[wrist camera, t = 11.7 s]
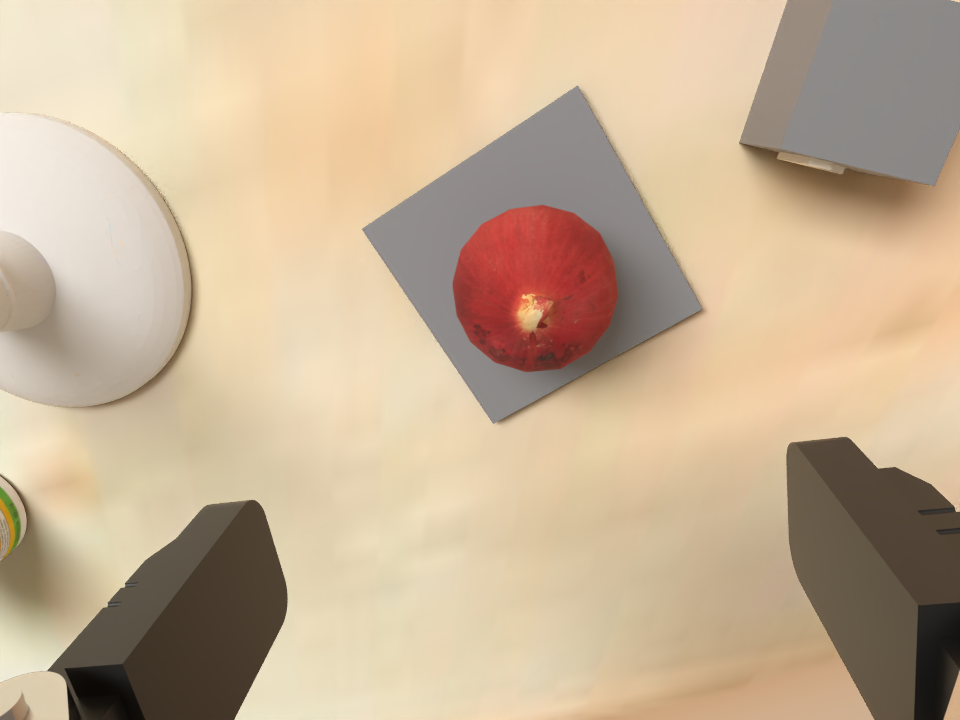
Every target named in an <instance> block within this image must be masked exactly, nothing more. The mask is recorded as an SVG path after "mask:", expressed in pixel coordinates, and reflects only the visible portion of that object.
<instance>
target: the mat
mask: <svg viewBox="0 0 960 720" xmlns="http://www.w3.org/2000/svg"><path fill="white" fill-rule="evenodd" d="M537 205H546V206H550V207H553V208H557V209H561V210H565V211H568V212H572V213H575V214H576V215H577V216H579V217H580V218H581V219H583V220H584V221H585V222H586V223H588V224H589V225H590V226H592V227H593V228H594V229H595V230H597V231H598V232H599V233H600V234H601V236H602V238H603V240H604V242H605V244H606V246H607V248H608V250H609V252H610V254H611V256H612V258H613V260H614V265H615V273H616V281H617V289H618V299H617V302H616V306H615V309H614V313H613V316H612V319H611V323H610V326H609V327H608V328H607V330H606V331H605V332H604V334H603V335H602V336H601V338H600V339H599V340H598V342H597V343H596V344H595V346H594V347H593V349H592V350H591V351H590V352H589V353H587V354H585V355H583V356H582V357H580V358H578V359H577V360H575V361H573V362H571V363H570V364H568V365H566V366H565V367H563V368H561V369H557V370H545V371H534V372H524V371H521V370H518V369H514V368H511V367H508V366H504V365H501V364H498V363H495V362H493V361H492V360H491V359H490V358H488V357H487V356H486V355H485V354H484V353H483V352H481V351H480V350H479V349H478V348H477V347H476V346H474V345H473V344H472V343H471V342H470V341H469V339H468V337H467V335H466V333H465V331H464V329H463V327H462V325H461V323H460V321H459V319H458V317H457V315H456V308H455V301H454V294H453V287H452V285H453V279H454V275H455V271H456V267H457V263H458V259H459V255H460V251H461V249H462V248H463V246H464V245H465V244H466V243H467V241H468V240H469V239H470V238H471V236H472V235H473V234H474V233H475V232H476V230H477V229H478V228H479V227H480V225H481V224H483V223H485V222H487V221H489V220H490V219H492V218H494V217H496V216H498V215H500V214H502V213H504V212H506V211H507V210H509V209H514V208H522V207H530V206H537ZM362 230H363V232H364V233H365V234H366V236H367V237H368V239H369V240H370V242H371V243H372V245H373V246H374V248H375V249H376V251H377V252H378V254H379V255H380V257H381V258H382V260H383V261H384V263H385V264H386V266H387V267H388V269H389V270H390V272H391V273H392V274H393V276H394V277H395V279H396V280H397V282H398V283H399V285H400V286H401V288H402V289H403V291H404V292H405V294H406V295H407V297H408V298H409V300H410V301H411V303H412V304H413V306H414V307H415V309H416V310H417V312H418V313H419V314H420V316H421V317H422V319H423V320H424V322H425V323H426V325H427V326H428V328H429V329H430V331H431V332H432V334H433V335H434V337H435V338H436V340H437V341H438V343H439V344H440V346H441V347H442V349H443V350H444V352H445V353H446V354H447V356H448V357H449V359H450V360H451V362H452V363H453V365H454V366H455V368H456V369H457V371H458V372H459V374H460V375H461V377H462V378H463V380H464V381H465V383H466V384H467V386H468V387H469V389H470V390H471V392H472V393H473V394H474V396H475V397H476V399H477V400H478V402H479V403H480V405H481V406H482V408H483V409H484V411H485V412H486V414H487V415H488V417H489V418H490V420H491V421H492V423H493V424H494V423H496V422H498V421H499V420H501V419H503V418H505V417H507V416H508V415H510V414H512V413H514V412H516V411H518V410H519V409H521V408H523V407H525V406H527V405H529V404H530V403H532V402H534V401H536V400H538V399H539V398H541V397H543V396H545V395H547V394H549V393H550V392H552V391H554V390H556V389H558V388H559V387H561V386H563V385H565V384H567V383H569V382H570V381H572V380H574V379H576V378H578V377H580V376H581V375H583V374H585V373H587V372H589V371H590V370H592V369H594V368H596V367H598V366H600V365H601V364H603V363H605V362H607V361H609V360H610V359H612V358H614V357H616V356H618V355H620V354H621V353H623V352H625V351H627V350H629V349H631V348H632V347H634V346H636V345H638V344H640V343H641V342H643V341H645V340H647V339H649V338H651V337H652V336H654V335H656V334H658V333H660V332H661V331H663V330H665V329H667V328H669V327H671V326H672V325H674V324H676V323H678V322H680V321H681V320H683V319H685V318H687V317H689V316H691V315H692V314H694V313H696V312H698V311H700V310H702V308H701V306H700V304H699V302H698V300H697V299H696V297H695V295H694V293H693V291H692V290H691V288H690V286H689V284H688V282H687V281H686V279H685V277H684V275H683V274H682V272H681V270H680V268H679V266H678V265H677V263H676V261H675V259H674V257H673V256H672V254H671V252H670V250H669V248H668V247H667V245H666V243H665V241H664V240H663V238H662V236H661V234H660V232H659V231H658V229H657V227H656V225H655V223H654V222H653V220H652V218H651V216H650V214H649V213H648V211H647V209H646V207H645V205H644V204H643V202H642V200H641V198H640V197H639V195H638V193H637V191H636V189H635V188H634V186H633V184H632V182H631V180H630V179H629V177H628V175H627V173H626V171H625V170H624V168H623V166H622V164H621V163H620V161H619V159H618V157H617V155H616V154H615V152H614V150H613V148H612V146H611V145H610V143H609V141H608V139H607V137H606V136H605V134H604V132H603V130H602V128H601V127H600V125H599V123H598V121H597V120H596V118H595V116H594V114H593V112H592V111H591V109H590V107H589V105H588V103H587V102H586V100H585V98H584V96H583V94H582V93H581V91H580V89H579V87H578V86H576V87H575V88H573V89H572V90H570V91H569V92H567V93H566V94H564V95H563V96H561V97H560V98H558V99H557V100H555V101H554V102H552V103H551V104H549V105H548V106H546V107H545V108H543V109H542V110H540V111H539V112H537V113H536V114H534V115H533V116H531V117H530V118H528V119H527V120H525V121H524V122H522V123H521V124H519V125H518V126H516V127H515V128H513V129H512V130H510V131H509V132H507V133H506V134H504V135H503V136H501V137H500V138H498V139H497V140H495V141H494V142H492V143H491V144H489V145H488V146H486V147H485V148H483V149H482V150H480V151H479V152H477V153H476V154H474V155H473V156H471V157H470V158H468V159H467V160H465V161H464V162H462V163H461V164H459V165H458V166H456V167H455V168H453V169H451V170H450V171H448V172H447V173H445V174H444V175H442V176H441V177H439V178H438V179H436V180H435V181H433V182H432V183H430V184H429V185H427V186H426V187H424V188H423V189H421V190H420V191H418V192H417V193H415V194H414V195H412V196H411V197H409V198H408V199H406V200H405V201H403V202H402V203H400V204H399V205H397V206H396V207H394V208H393V209H391V210H390V211H388V212H387V213H385V214H384V215H382V216H381V217H379V218H378V219H376V220H375V221H373V222H372V223H370V224H369V225H367V226H366V227H364V228H363V229H362Z"/></svg>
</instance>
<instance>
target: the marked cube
mask: <svg viewBox="0 0 960 720" xmlns="http://www.w3.org/2000/svg"><path fill="white" fill-rule="evenodd" d="M959 129H960V3H959V2H955V1H950V0H788V1H787V4H786V7H785V9H784V12H783V15H782V18H781V21H780V24H779V27H778V30H777V33H776V36H775V39H774V42H773V45H772V48H771V51H770V54H769V57H768V59H767V62H766V65H765V68H764V71H763V74H762V77H761V80H760V83H759V86H758V89H757V92H756V95H755V98H754V101H753V104H752V107H751V110H750V112H749V115H748V118H747V121H746V124H745V127H744V130H743V133H742V136H741V139H740V142H739V143H742V144H746V145H750V146H754V147H758V148H763V149H767V150H771V151H775V152H779V154H778V156H777V159H780V160H784V161H788V162H792V163H796V164H800V165H805V166H809V167H813V168H817V169H821V170H825V171H829V172H833V173H838V174H843V173H844V170H845V169H849V170H853V171H858V172H862V173H866V174H871V175H877V176H882V177H888V178H893V179H899V180H904V181H910V182H915V183H921V184H926V185H932V186H935V183H936V181H937V179H938V177H939V174H940V172H941V170H942V167H943V165H944V163H945V161H946V158H947V156H948V154H949V152H950V149H951V147H952V145H953V142H954V140H955V138H956V136H957V133H958V131H959Z"/></svg>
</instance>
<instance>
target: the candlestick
mask: <svg viewBox="0 0 960 720" xmlns="http://www.w3.org/2000/svg"><path fill="white" fill-rule="evenodd" d="M190 305H191V274H190V268H189V261H188V257H187V252H186V249H185V245H184V242H183V239H182V236H181V234H180V231H179V228H178V226H177V224H176V222H175V220H174V217H173V216H172V214H171V212H170V210H169V208H168V206H167V205H166V203H165V201H164V200H163V198H162V197H161V195H160V194H159V192H158V191H157V189H156V188H155V187H154V185H153V184H152V183H151V182H150V180H149V179H148V178H147V177H146V176H145V175H144V173H143V172H142V171H141V170H140V169H139V168H138V167H137V166H136V165H135V164H134V163H133V162H132V161H131V160H130V159H129V158H127V157H126V156H125V155H124V154H123V153H122V152H120V151H119V150H118V149H116V148H115V147H114V146H112V145H111V144H110V143H108V142H107V141H105V140H103V139H102V138H100V137H99V136H97V135H95V134H93V133H92V132H90V131H88V130H86V129H84V128H82V127H79V126H77V125H75V124H72V123H70V122H67V121H64V120H61V119H58V118H54V117H50V116H46V115H40V114H33V113H13V112H6V113H0V389H2V390H4V391H6V392H8V393H10V394H13V395H15V396H18V397H20V398H23V399H26V400H29V401H32V402H36V403H41V404H45V405H51V406H59V407H87V406H93V405H99V404H103V403H107V402H110V401H114V400H116V399H119V398H122V397H124V396H126V395H128V394H130V393H132V392H133V391H135V390H137V389H138V388H140V387H141V386H143V385H144V384H146V383H147V382H148V381H150V380H151V379H152V378H153V377H155V376H156V375H157V374H158V373H159V372H160V371H161V370H162V369H163V368H164V367H165V365H166V364H167V363H168V362H169V360H170V359H171V358H172V356H173V354H174V353H175V351H176V350H177V348H178V346H179V344H180V342H181V340H182V337H183V335H184V332H185V329H186V325H187V322H188V318H189V312H190Z"/></svg>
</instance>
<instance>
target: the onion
mask: <svg viewBox="0 0 960 720" xmlns="http://www.w3.org/2000/svg"><path fill="white" fill-rule="evenodd" d="M452 287H453V294H454V301H455V308H456V315H457V317H458V319H459V321H460V323H461V325H462V327H463V329H464V331H465V333H466V335H467V337H468V339H469V341H470V342H471V343H472V344H473V345H474V346H476V347H477V348H478V349H479V350H480V351H481V352H483V353H484V354H485V355H486V356H487V357H488V358H490V359H491V360H492V361H493V362H495V363H498V364H501V365H504V366H508V367H511V368H514V369H518V370H521V371H524V372H534V371H545V370H557V369H561V368H563V367H565V366H566V365H568V364H570V363H571V362H573V361H575V360H577V359H578V358H580V357H582V356H583V355H585V354H587V353H589V352H590V351H591V350H592V349H593V347H594V346H595V344H596V343H597V342H598V340H599V339H600V338H601V336H602V335H603V334H604V332H605V331H606V330H607V328H608V327H609V326H610V323H611V319H612V316H613V313H614V309H615V306H616V302H617V299H618V289H617V281H616V273H615V265H614V260H613V258H612V256H611V254H610V252H609V250H608V248H607V246H606V244H605V242H604V240H603V238H602V236H601V234H600V233H599V232H598V231H597V230H595V229H594V228H593V227H592V226H590V225H589V224H588V223H586V222H585V221H584V220H583V219H581V218H580V217H579V216H577V215H576V214H575V213H572V212H568V211H565V210H561V209H557V208H553V207H550V206H546V205H537V206H530V207H522V208H514V209H509V210H507V211H506V212H504V213H502V214H500V215H498V216H496V217H494V218H492V219H490V220H489V221H487V222H485V223H483V224H481V225H480V227H479V228H478V229H477V230H476V232H475V233H474V234H473V235H472V236H471V238H470V239H469V240H468V241H467V243H466V244H465V245H464V246H463V248H462V249H461V251H460V255H459V259H458V263H457V267H456V271H455V275H454V279H453V285H452Z"/></svg>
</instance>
